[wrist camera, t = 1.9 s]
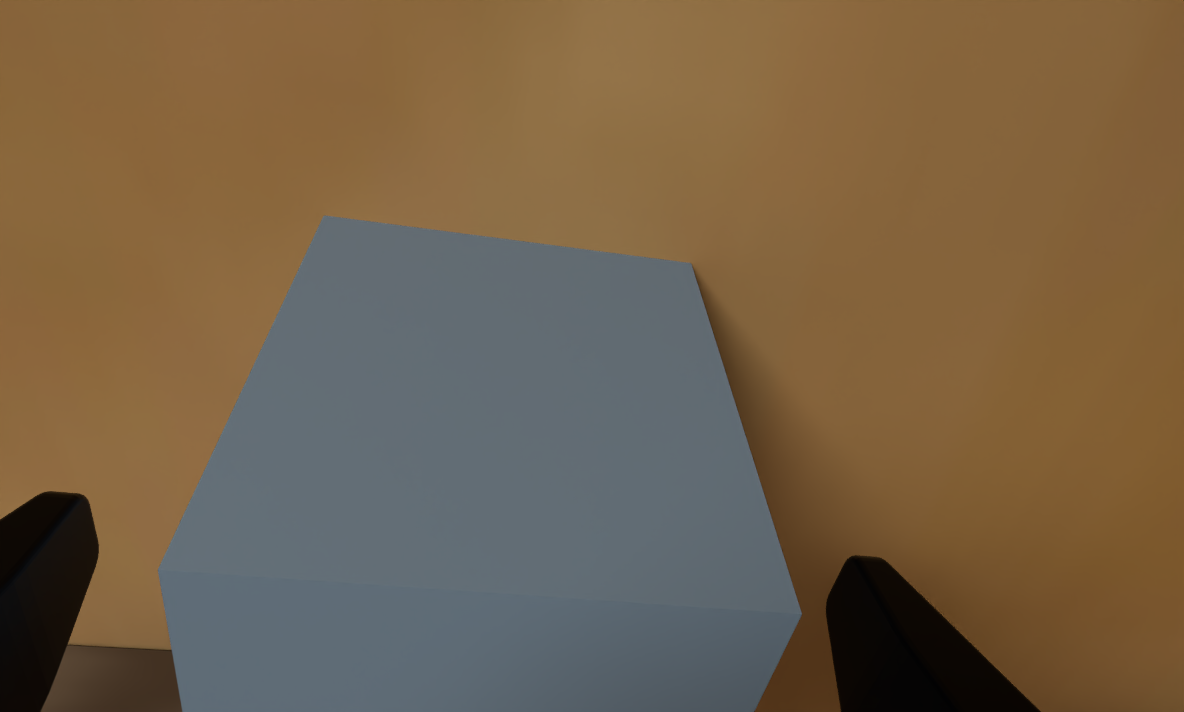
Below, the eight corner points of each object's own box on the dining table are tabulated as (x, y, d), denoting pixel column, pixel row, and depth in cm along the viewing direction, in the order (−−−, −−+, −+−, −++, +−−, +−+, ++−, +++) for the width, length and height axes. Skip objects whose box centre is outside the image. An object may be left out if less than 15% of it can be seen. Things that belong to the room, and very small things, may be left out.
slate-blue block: (690, 261, 12) (801, 613, 7) (621, 512, 15) (666, 890, 10) (324, 214, 11) (157, 569, 6) (325, 487, 14) (211, 883, 9)
